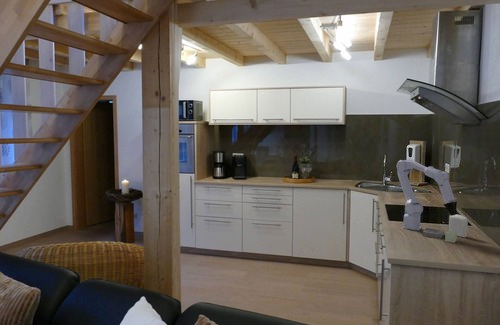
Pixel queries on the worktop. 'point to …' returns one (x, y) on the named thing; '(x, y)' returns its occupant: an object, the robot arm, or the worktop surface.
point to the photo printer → (458, 225)
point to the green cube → (450, 236)
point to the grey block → (433, 233)
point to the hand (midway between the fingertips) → (454, 215)
